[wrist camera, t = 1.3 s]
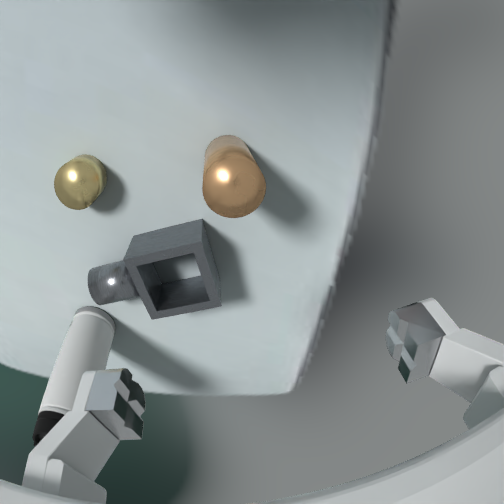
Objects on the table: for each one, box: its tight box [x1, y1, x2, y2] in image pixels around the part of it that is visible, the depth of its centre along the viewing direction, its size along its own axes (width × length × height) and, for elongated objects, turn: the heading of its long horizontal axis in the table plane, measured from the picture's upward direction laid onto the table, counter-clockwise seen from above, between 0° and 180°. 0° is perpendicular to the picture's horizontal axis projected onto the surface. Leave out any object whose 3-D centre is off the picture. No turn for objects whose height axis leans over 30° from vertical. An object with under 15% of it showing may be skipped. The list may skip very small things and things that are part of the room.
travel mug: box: [33, 306, 116, 447], centre depth 30 cm, size 6×7×20 cm
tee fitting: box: [88, 219, 222, 319], centre depth 33 cm, size 8×14×5 cm, turn 100°
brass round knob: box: [54, 155, 107, 210], centre depth 28 cm, size 5×5×3 cm
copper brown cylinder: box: [202, 135, 266, 218], centre depth 26 cm, size 4×4×10 cm
